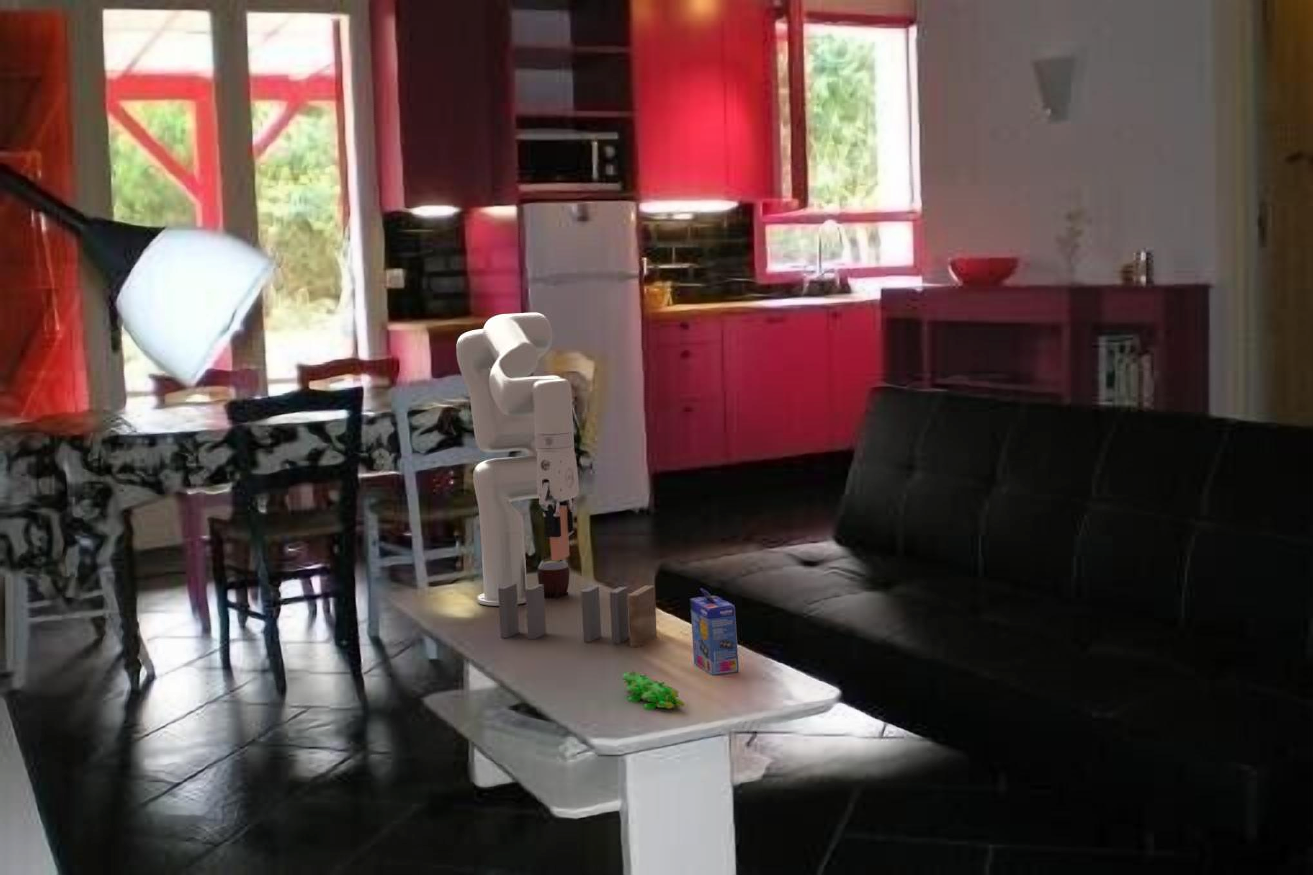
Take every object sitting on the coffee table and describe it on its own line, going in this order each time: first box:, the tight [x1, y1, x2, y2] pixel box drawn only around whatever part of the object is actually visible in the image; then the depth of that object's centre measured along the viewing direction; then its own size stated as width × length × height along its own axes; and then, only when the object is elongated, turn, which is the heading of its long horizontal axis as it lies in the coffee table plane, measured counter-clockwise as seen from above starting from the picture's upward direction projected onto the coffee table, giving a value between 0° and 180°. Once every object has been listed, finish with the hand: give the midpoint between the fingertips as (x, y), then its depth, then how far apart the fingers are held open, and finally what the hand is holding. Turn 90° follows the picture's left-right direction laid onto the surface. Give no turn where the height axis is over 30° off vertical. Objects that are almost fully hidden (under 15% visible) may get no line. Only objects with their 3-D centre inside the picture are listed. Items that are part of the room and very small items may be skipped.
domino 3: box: [549, 506, 570, 560], centre depth 310 cm, size 2×5×10 cm, turn 159°
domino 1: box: [498, 583, 520, 639], centre depth 316 cm, size 2×5×10 cm, turn 159°
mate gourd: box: [536, 529, 575, 600], centre depth 351 cm, size 8×8×15 cm
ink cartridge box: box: [689, 588, 740, 676], centre depth 283 cm, size 10×6×14 cm, turn 19°
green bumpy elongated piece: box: [620, 670, 684, 710], centre depth 264 cm, size 7×18×4 cm, turn 29°
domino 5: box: [609, 586, 630, 644], centre depth 307 cm, size 2×5×10 cm, turn 159°
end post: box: [627, 585, 658, 648], centre depth 305 cm, size 2×9×10 cm, turn 159°
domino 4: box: [580, 585, 602, 643], centre depth 309 cm, size 2×5×10 cm, turn 159°
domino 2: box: [525, 583, 547, 640], centre depth 314 cm, size 2×5×10 cm, turn 159°
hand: (559, 533), depth 310 cm, fingers closed on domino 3, 4 cm apart
